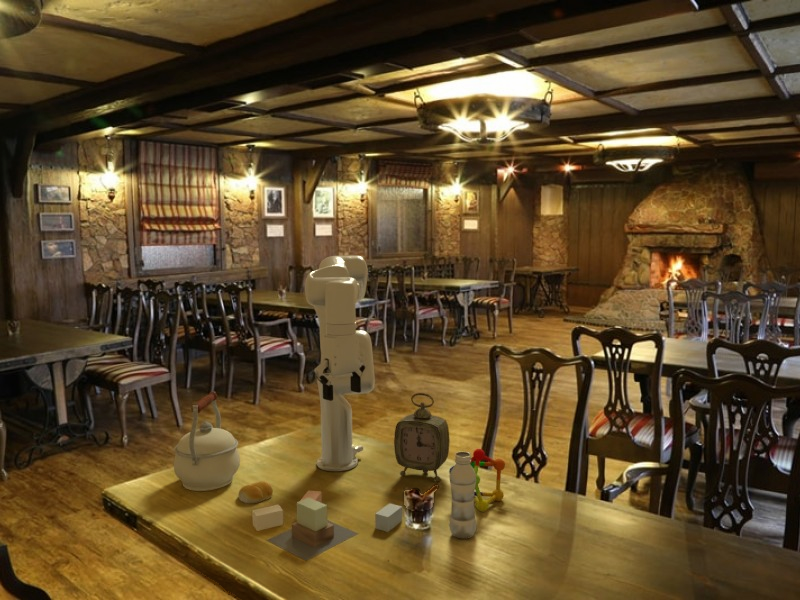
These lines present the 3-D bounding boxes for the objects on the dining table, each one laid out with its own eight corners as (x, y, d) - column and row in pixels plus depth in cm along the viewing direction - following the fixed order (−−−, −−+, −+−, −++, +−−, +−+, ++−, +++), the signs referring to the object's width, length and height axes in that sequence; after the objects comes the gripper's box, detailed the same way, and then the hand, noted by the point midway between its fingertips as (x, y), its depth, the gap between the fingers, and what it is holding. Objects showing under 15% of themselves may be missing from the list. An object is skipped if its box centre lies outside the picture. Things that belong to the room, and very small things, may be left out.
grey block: (389, 522, 158) (389, 503, 158) (402, 526, 156) (402, 506, 156) (375, 533, 153) (375, 513, 152) (388, 537, 151) (387, 517, 150)
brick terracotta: (308, 508, 166) (308, 490, 166) (321, 510, 165) (321, 491, 165) (300, 520, 160) (299, 501, 159) (313, 521, 159) (313, 502, 158)
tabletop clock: (394, 477, 186) (393, 394, 183) (406, 466, 194) (405, 386, 191) (441, 485, 180) (441, 399, 177) (451, 473, 188) (451, 391, 185)
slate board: (318, 520, 159) (318, 516, 159) (358, 538, 150) (358, 533, 150) (266, 545, 147) (266, 540, 147) (306, 565, 138) (306, 560, 138)
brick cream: (278, 523, 158) (278, 504, 157) (283, 529, 155) (282, 510, 154) (252, 529, 155) (252, 510, 154) (257, 536, 152) (256, 516, 151)
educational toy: (462, 491, 178) (465, 438, 177) (507, 501, 172) (509, 446, 172) (440, 508, 164) (442, 451, 164) (487, 519, 158) (490, 459, 158)
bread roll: (278, 496, 174) (278, 482, 174) (250, 507, 168) (249, 492, 167) (261, 488, 180) (260, 474, 179) (233, 498, 173) (232, 484, 173)
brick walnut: (311, 526, 153) (310, 515, 153) (334, 537, 148) (333, 525, 148) (291, 536, 149) (291, 523, 149) (314, 547, 144) (314, 534, 143)
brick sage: (297, 522, 149) (296, 502, 148) (309, 517, 152) (308, 497, 151) (315, 531, 145) (315, 510, 144) (327, 525, 148) (326, 505, 147)
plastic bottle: (479, 530, 153) (479, 450, 151) (473, 544, 147) (473, 460, 144) (453, 527, 155) (453, 447, 153) (446, 540, 149) (445, 457, 146)
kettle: (227, 498, 173) (223, 409, 170) (161, 497, 174) (156, 408, 171) (253, 463, 198) (250, 385, 195) (195, 463, 199) (191, 385, 196)
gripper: (354, 323, 169) (355, 386, 171) (304, 332, 156) (306, 400, 158) (375, 326, 164) (376, 391, 166) (325, 335, 151) (326, 405, 153)
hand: (342, 395), depth 162 cm, fingers open, 9 cm apart
